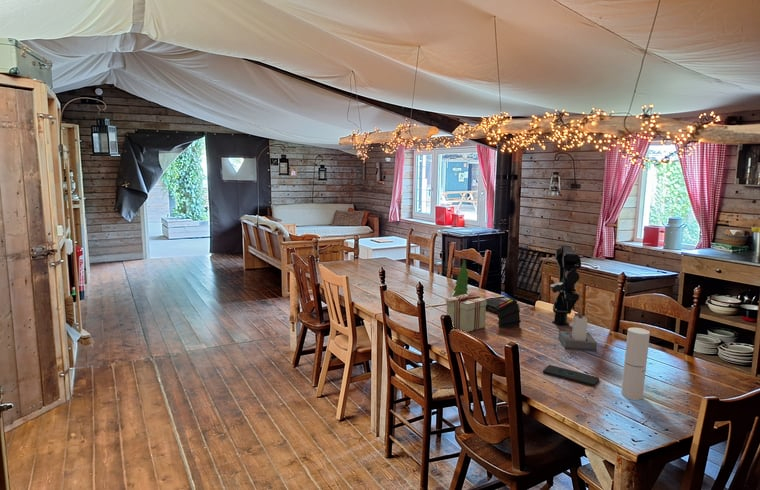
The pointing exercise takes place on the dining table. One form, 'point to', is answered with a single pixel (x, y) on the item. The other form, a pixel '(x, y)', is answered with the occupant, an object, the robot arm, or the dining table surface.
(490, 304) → the portable cd player
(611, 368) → the dining table surface
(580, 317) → the white upright cylinder
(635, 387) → the cylindrical container
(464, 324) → the gift box
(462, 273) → the decorative tree
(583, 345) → the block
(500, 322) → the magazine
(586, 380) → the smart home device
